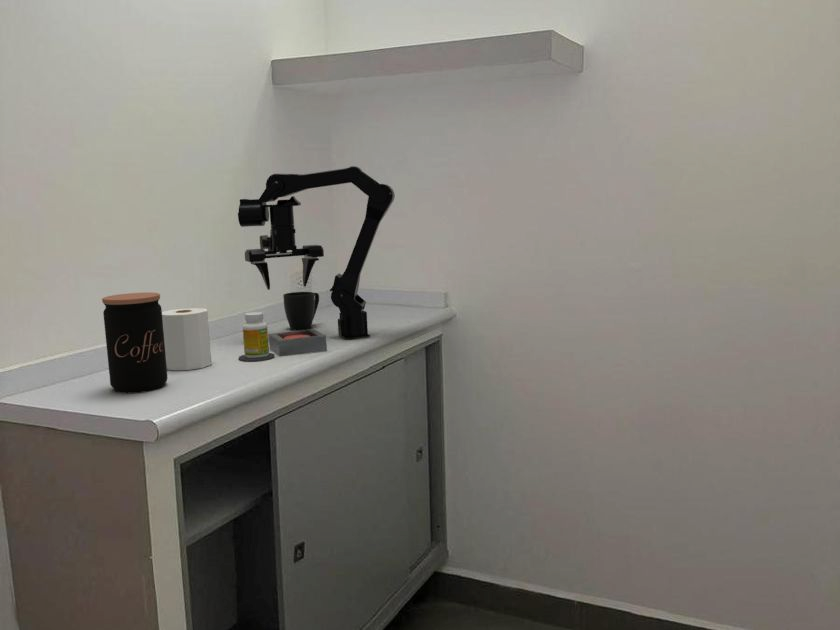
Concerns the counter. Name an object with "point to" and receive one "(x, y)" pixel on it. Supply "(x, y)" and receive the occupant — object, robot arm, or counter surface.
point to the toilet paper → (186, 338)
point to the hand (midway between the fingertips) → (286, 287)
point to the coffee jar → (135, 342)
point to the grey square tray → (297, 342)
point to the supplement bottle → (255, 336)
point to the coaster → (243, 358)
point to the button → (296, 336)
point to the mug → (300, 309)
